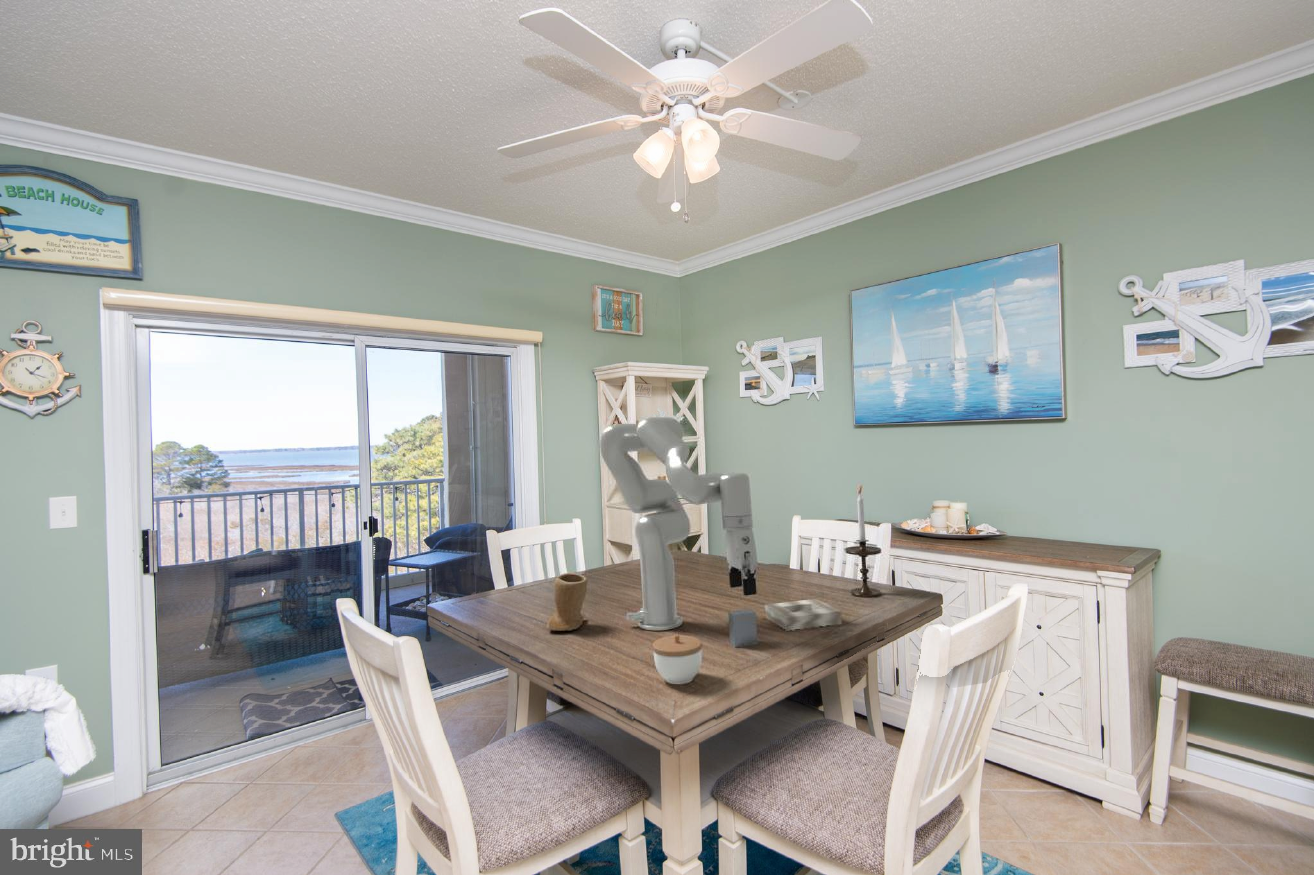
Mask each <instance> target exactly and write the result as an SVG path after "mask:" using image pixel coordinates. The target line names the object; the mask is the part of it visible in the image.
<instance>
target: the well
mask: <svg viewBox="0 0 1314 875" xmlns="http://www.w3.org/2000/svg"><path fill="white" fill-rule="evenodd" d="M764 610H765V618H766V619H768V620H769V621H771V622H773V624H775V623H776V624H775V625H777V626H778V625H779V626H778V627H780V628H781V627H782V630H784V629H785V630H784V631H785V632H790V630H792V631H796V630H795V629H800V630H804V628H807V629H811V628H810V627H815V628H820V627H819V626H823V627H827V626H826V625H830V626H836V625H837V626H838V625H842V611H841V610H839V609H837V608H835V607H833V606H832V605H829V604H827V603H825V602H823V601H821V600H819V599H817V598H813V599H812V598H811V599H810V598H809V599H805V600H804V599H803V600H794V601H785V602H778V603H770V604H764Z"/></svg>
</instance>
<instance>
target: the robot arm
mask: <svg viewBox="0 0 1314 875" xmlns="http://www.w3.org/2000/svg"><path fill="white" fill-rule="evenodd" d="M683 437H684V429H683V426H682V424H681V423H680V421H678V420H677V419H675V418H673V417H667V416H665V417H664V416H663V417H662V416H659V417H658V416H657V417H654V416H653V417H647V418H643V420H641V421H640V422H639V423H615V424H612V425H609V426H608V427H607V428H606V427H605V429H604V430H603V432H602V434H601V436H600V442H599V444H600V445H599V449H600V454H601V458H602V460H603V462H604V463H605V464H606V467H607V468H608V470H609V471H610V473H611V475H612V477H613V478H614V481H615V482H616V485H617V487H618V490H619V491H620V493H621V495H622V498H623V500H624V501H625V504H626V506H627V507H628V509H629V510H630V512H632V513H634V514H645V515H643V516H642V517H640V518H639V520H638V521H637V522H636V524H635V528H634V530H635V531H634V532H635V539H636V543H637V548H638V551H639V561H640V564H639V565H640V577H641V578H640V580H641V595H642V598H641V599H642V607H640V610H637V611H636V612H627V613H626V620H627V621H633V622H637V621H638V622H637V624H638V627H639V628H641V629H643V630H647V631H668V630H672V629H676V628H678V627H680V626H681V625H683V618H682V617H681V616H679V615H678V613H677V599H676V597H677V596H676V595H677V594H676V581H675V580H676V578H675V577H676V576H675V562H674V558H673V554H672V553H671V551H670V549H669V547H668V545H670V544H675V543H679V542H682V541H685V540H686V539H687V538H688V537H689V535H690V533H691V521H690V519H689V516H688V514H687V512H686V510H685V508H684V506H683V504H682V502H681V501H680V498H679V496H680V497H682V499H684V500H685V501H686V502H688V503H690V504H692V505H705V504H711V503H717V502H719V503H720V505H721V519H722V529H723V530H725V550H726V552H725V553H726V562H727V564H728V568H727V569H728V579H729V587H730V588H731V589H732V588H733V589H735V588H740V587H742V592H743V595H744V596H753V595H754V596H755V595H757V593H758V592H757V591H758V590H757V582H756V578H757V574H756V571H757V570H756V568H758V566H759V565H758V557H757V548H756V541H755V536H754V532H753V528H754V524H753V522H754V521H753V511H752V510H753V509H752V495H751V484H750V478H749V476H748V474H747V473H745V472H744V473H743V472H736V473H735V472H734V473H722V472H721V473H719V472H715V473H714V472H713V473H704V474H696V473H695V472H693V470H691V468H689V466H687V465H686V464H685V462H686V461H687V459H688V458H689V454H690V446H689V445H688V443H686V442H685V441H684V440H683ZM648 451H650V452H651V453H652V454H653V456H655V458H656V459H658V460H659V461H660V462H661V463H662V465H664V466H665V474H666V477H667V480H668V481H666V480H664V479H659V478H656V479H655V478H654V479H648V477H647V476H646V474H645V473H644V471H643V469H642V467H641V465H640V464H639V463H638V461H637V460H635V458H634V457H632V456H631V455H630V454H629V452H630V453H631V452H648ZM678 495H679V496H678ZM646 513H648V514H646Z"/></svg>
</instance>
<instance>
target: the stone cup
mask: <svg viewBox="0 0 1314 875" xmlns="http://www.w3.org/2000/svg"><path fill="white" fill-rule="evenodd" d="M587 592H588V580H587V577H585V576H584V575H582V574H579V573H575V572H570V573H569V572H568V573H567V572H566V573H562V574H559V575H558V576H557V577H556V578H555V581H554V589H553V599H554V603H555V608H556V609H555V610H556V611H555V612H554V613H553V615H552V616H551V617H550V619H549V620H548V622H547V624H546V625H547V626H546V627H547V629H548V630H550V631H557V632H563V631H564V632H565V631H566V630H567V631H573V629H574V630H576V629H578V628H579V627H580V626H582V624H583V621H584V619H585V616H586V613H585V612H583V611H582V608H583V604H584V601H585V598H586V596H587ZM567 631H566V632H567Z"/></svg>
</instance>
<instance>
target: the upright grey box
mask: <svg viewBox="0 0 1314 875" xmlns="http://www.w3.org/2000/svg"><path fill="white" fill-rule="evenodd" d="M727 614H728V628H729V629H728V630H729V644H730V643H731V644H730V645H732V647H734V648H740V647H742V648H743V647H749V645H750V646H757V644H758V629H757V612H756V611H754V610H753V609H752V608H747V609H746V608H745V609H739V610H736V609H735V610H730V611H728V612H727Z"/></svg>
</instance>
